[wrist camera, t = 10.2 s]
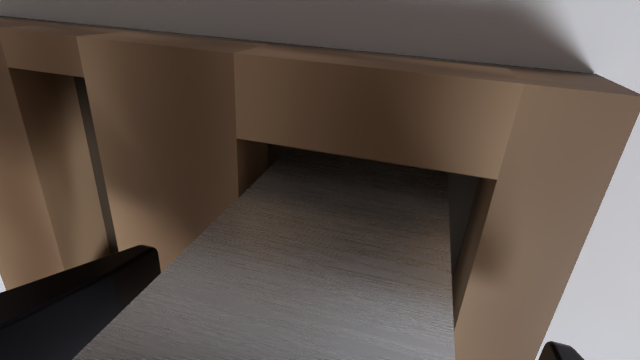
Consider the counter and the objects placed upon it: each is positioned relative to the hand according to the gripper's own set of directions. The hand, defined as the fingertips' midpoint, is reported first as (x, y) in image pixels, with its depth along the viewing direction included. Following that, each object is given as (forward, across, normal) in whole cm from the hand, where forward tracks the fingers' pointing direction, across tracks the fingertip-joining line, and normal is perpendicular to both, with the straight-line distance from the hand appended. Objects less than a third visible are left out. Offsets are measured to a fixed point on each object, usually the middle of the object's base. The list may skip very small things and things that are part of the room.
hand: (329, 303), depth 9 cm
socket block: (+4, +4, 0) cm, 6 cm away
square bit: (+4, 0, 0) cm, 4 cm away
